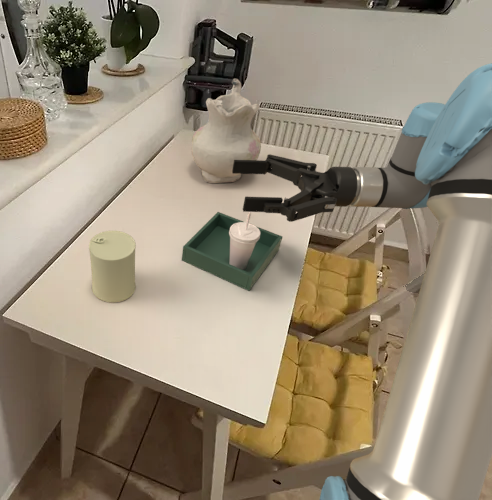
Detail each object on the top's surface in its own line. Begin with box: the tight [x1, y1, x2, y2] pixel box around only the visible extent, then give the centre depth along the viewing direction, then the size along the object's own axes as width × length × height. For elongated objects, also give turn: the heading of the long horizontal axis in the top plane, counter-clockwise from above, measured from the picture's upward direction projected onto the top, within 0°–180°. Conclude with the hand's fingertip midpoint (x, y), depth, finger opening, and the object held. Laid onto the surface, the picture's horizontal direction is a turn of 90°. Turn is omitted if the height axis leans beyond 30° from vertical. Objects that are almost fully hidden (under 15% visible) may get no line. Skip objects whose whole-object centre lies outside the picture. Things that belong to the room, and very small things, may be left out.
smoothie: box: [229, 212, 260, 270], centre depth 91 cm, size 6×6×14 cm
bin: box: [181, 211, 283, 292], centre depth 98 cm, size 17×17×4 cm
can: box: [88, 230, 137, 303], centre depth 87 cm, size 9×9×12 cm
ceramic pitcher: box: [190, 77, 262, 184], centre depth 120 cm, size 22×20×25 cm
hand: (238, 184), depth 82 cm, fingers open, 13 cm apart
